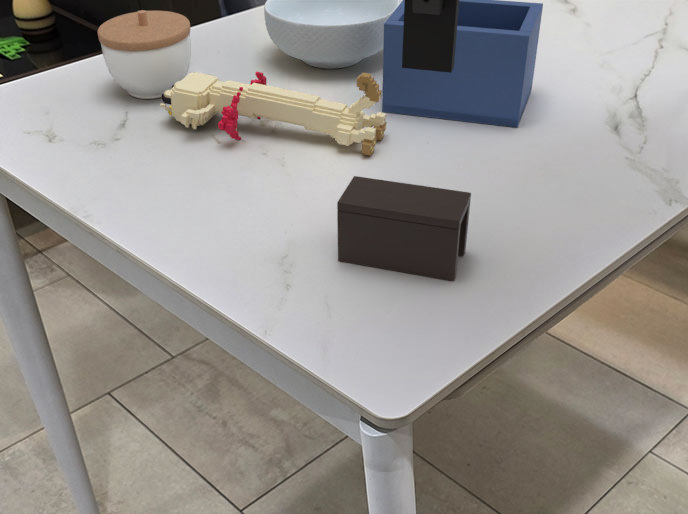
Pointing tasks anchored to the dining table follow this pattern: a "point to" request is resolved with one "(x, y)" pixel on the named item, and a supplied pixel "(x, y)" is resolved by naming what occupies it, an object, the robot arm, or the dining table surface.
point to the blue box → (469, 66)
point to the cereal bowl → (328, 29)
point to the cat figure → (276, 107)
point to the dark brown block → (403, 227)
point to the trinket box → (146, 51)
